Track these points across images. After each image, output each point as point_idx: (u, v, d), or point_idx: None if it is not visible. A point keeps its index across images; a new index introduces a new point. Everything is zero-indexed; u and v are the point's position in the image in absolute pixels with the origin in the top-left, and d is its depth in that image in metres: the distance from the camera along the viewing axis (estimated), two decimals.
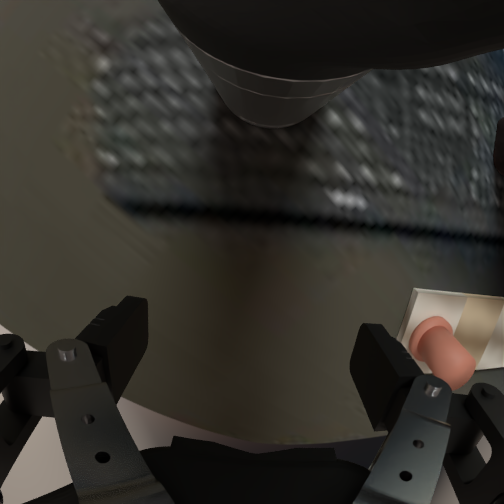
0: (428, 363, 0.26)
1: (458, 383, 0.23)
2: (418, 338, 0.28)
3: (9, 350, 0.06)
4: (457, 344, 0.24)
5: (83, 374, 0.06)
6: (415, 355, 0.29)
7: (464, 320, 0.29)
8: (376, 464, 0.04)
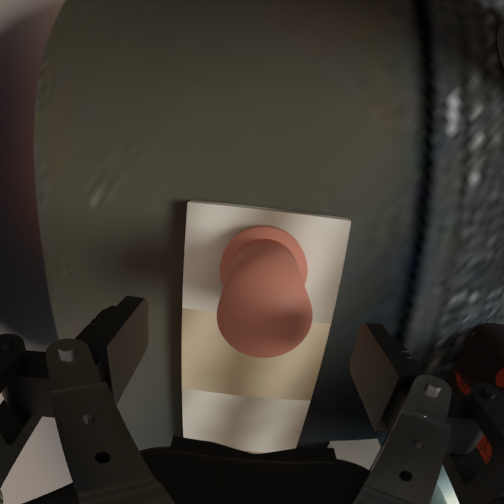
0: (253, 254, 0.15)
1: (235, 327, 0.13)
2: (275, 236, 0.18)
3: (9, 350, 0.06)
4: None
5: (83, 374, 0.06)
6: (237, 240, 0.18)
7: None
8: (376, 464, 0.04)
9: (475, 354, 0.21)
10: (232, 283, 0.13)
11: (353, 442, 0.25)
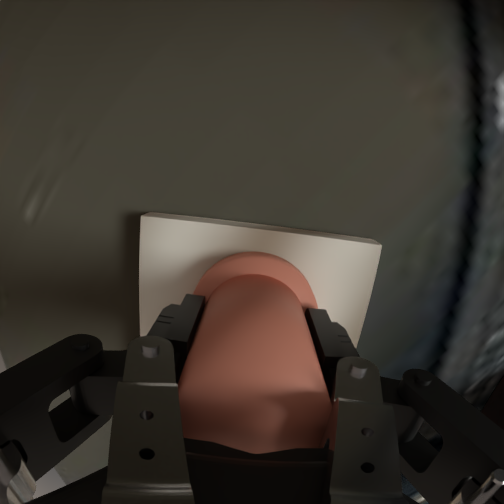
0: (233, 310, 0.09)
1: None
2: (271, 271, 0.12)
3: (87, 351, 0.07)
4: None
5: (159, 372, 0.07)
6: (212, 277, 0.12)
7: None
8: (333, 463, 0.04)
9: None
10: (190, 383, 0.06)
11: None
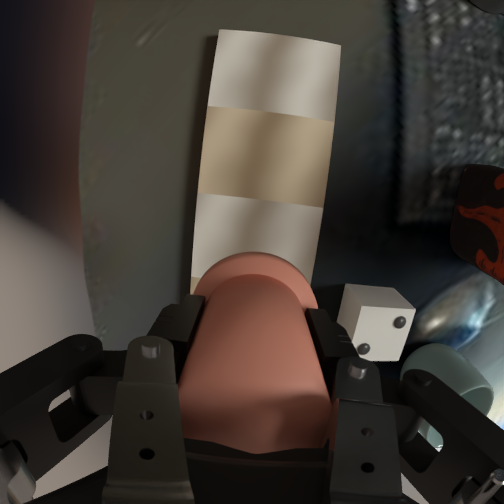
0: (233, 310, 0.09)
1: None
2: (272, 271, 0.12)
3: (88, 351, 0.07)
4: None
5: (160, 372, 0.07)
6: (212, 277, 0.12)
7: (298, 126, 0.23)
8: (333, 463, 0.04)
9: (471, 181, 0.23)
10: (190, 383, 0.06)
11: (369, 286, 0.28)
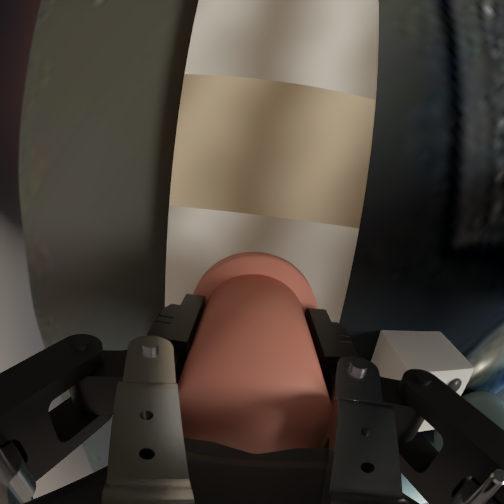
0: (233, 310, 0.09)
1: None
2: (272, 271, 0.12)
3: (88, 351, 0.07)
4: None
5: (160, 372, 0.07)
6: (212, 277, 0.12)
7: (323, 103, 0.15)
8: (333, 463, 0.04)
9: None
10: (190, 383, 0.06)
11: (411, 332, 0.19)
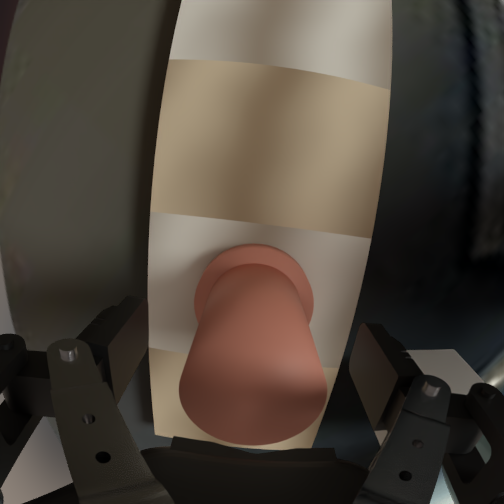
0: (237, 292, 0.10)
1: (209, 409, 0.08)
2: (270, 260, 0.13)
3: (10, 350, 0.06)
4: None
5: (84, 374, 0.06)
6: (216, 266, 0.13)
7: (330, 92, 0.12)
8: (375, 464, 0.04)
9: None
10: (200, 351, 0.08)
11: (424, 352, 0.17)
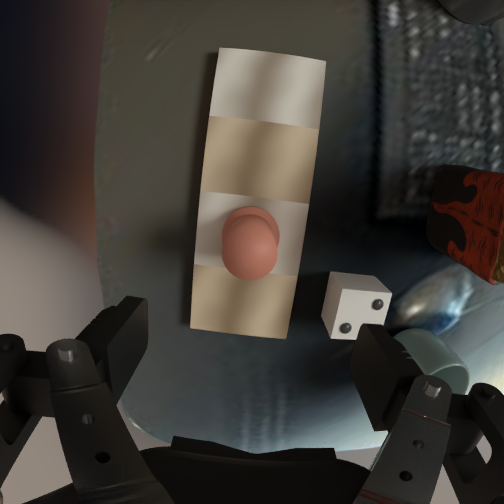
0: (243, 220, 0.25)
1: (232, 259, 0.23)
2: (258, 213, 0.28)
3: (9, 350, 0.06)
4: None
5: (83, 374, 0.06)
6: (233, 215, 0.28)
7: (287, 133, 0.27)
8: (376, 464, 0.04)
9: (444, 179, 0.27)
10: (231, 232, 0.23)
11: (351, 274, 0.32)
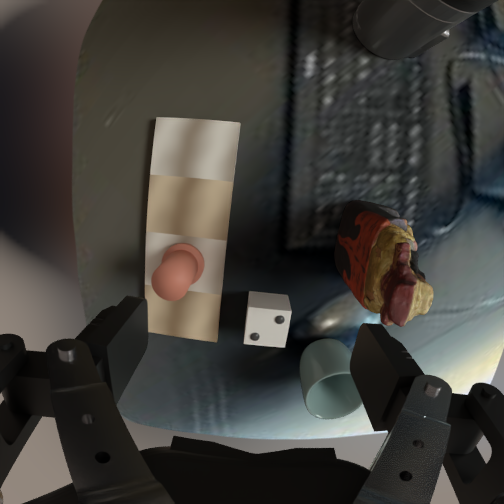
0: (170, 257, 0.34)
1: (158, 286, 0.32)
2: (186, 248, 0.37)
3: (9, 350, 0.06)
4: (192, 279, 0.34)
5: (83, 374, 0.06)
6: (168, 250, 0.37)
7: (208, 186, 0.36)
8: (376, 464, 0.04)
9: (346, 216, 0.36)
10: None
11: (267, 293, 0.41)
